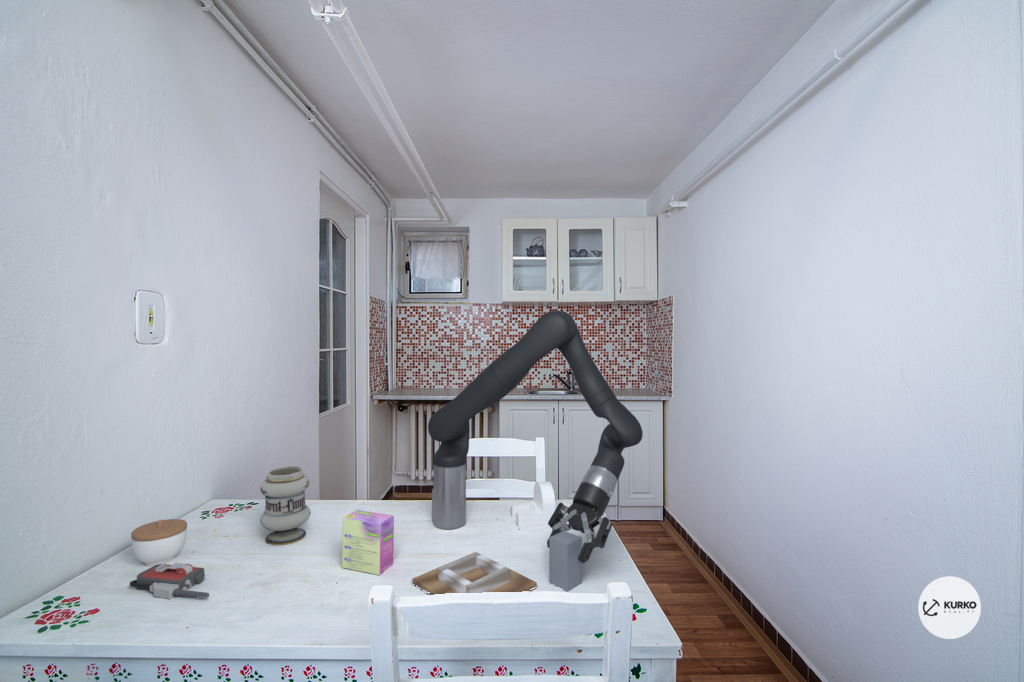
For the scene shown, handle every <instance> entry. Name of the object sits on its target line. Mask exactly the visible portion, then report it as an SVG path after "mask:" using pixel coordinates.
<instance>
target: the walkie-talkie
mask: <svg viewBox="0 0 1024 682" xmlns="http://www.w3.org/2000/svg"><path fill="white" fill-rule="evenodd" d="M205 577H206V575H205V568H204V567H197V566H193V564H190V563H182V562H181V563H180V562H175V563H172V564H166V563H163V564H160V565H159V564H157V565H153V566H150V568H147V569H146V570H143V571H142V572H139V573H138V574H137V575H136V579H133V580H131V581H130V582H129V587H132V588H136V590H137V591H147V592H152V595H153V597H154V598H159V599H160V598H161V599H166V600H171V599H173V598H174V597H187V598H189V597H191V598H196V597H201V598H208V597H209V596H210V593H209V592H205V591H195V590H190V589H192V587H194V586H196V585H197V584H201V583H202V582H204V580H205Z"/></svg>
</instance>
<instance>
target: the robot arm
mask: <svg viewBox="0 0 1024 682" xmlns="http://www.w3.org/2000/svg"><path fill="white" fill-rule="evenodd" d="M555 349H557V350H558V351H559V352H560V353H561V355H562V356H563V357H564V359H565V361H566V362H567V364H568V365H569V368H570V369H571V372H572V374H573V377H574V379H575V383H576V384H577V386H578V389H579V391H580V393H581V394H582V396H583V398H584V400H585V402H586V403H587V404H588V406H589V408H590V409H591V411H592V412H593V414H594V415H595V417H596V418H603V419H605V420H606V421H607V422H608V424H607V425H606V426H605V427H604V429H603V431H602V433H601V435H600V439H599V442H598V448H597V452H596V454H595V456H594V458H593V460H592V463H591V464H590V466H589V468H588V469H587V471H586V473H585V474H584V476H583V478H582V480H581V482H580V484H579V486H578V488H577V490H576V492H575V494H574V496H573V498H572V499H573V500H572V503H571V506H570V507H567V506H564V504H563V503H559V504H558V506H557V508H556V510H555V511H554V513H553V515H552V516H551V518H550V520H549V522H548V525H547V526H549V527H550V528H551V529H552V531H551V533H550V535H549V537H551V536H554V535H556V534H558V533H560V532H562V531H566V532H570V531H572V530H574V531H577V532H580V533H582V534H583V535H584V534H585V539H586V542H584V543H583V544H582V549H581V552H580V554H579V556H578V560H579V561H580V562H581V563H582V565H585V563H586V562H588V561H589V560H590V557H591V555H592V553H593V550H594V549H595V548H600V549H604V548H605V545H606V543H607V539H608V538H609V535H610V532H611V530H612V528H613V523H612V522H611V520H610V519H609V518H608V517H607V516H604V517H603V515H604V514H605V511H606V509H607V508H608V505H609V504H610V503H609V502H610V500H611V499H612V496H613V495H614V492H615V488H616V485H617V483H618V480H619V478H620V476H621V474H622V471H623V469H624V467H625V459H624V458H625V457H623V455H622V452H623V451H624V449H627V448H630V447H634V446H637V445H638V444H640V443H641V441H642V439H643V435H644V434H643V433H644V432H643V429H642V426H641V424H640V422H639V420H638V419H637V417H636V416H635V415H634V414H633V413H632V412H631V411H630V410H629V409H628V408H627V407H626V406H625V405H624V404H623V403H622V402H621V401H620V400H618V398H617V396H616V394H615V393H614V392H613V390H612V388H611V386H610V385H609V384H608V381H606V379H605V377H604V375H603V374H602V372H601V371H600V370H599V368H598V366H597V364H596V363H595V361H594V360H593V358H592V356H591V354H590V353H589V351H588V348H587V347H586V345H585V343H584V340H583V338H582V336H581V333H580V331H579V329H578V326H577V323H576V321H575V319H574V318H573V316H572V315H571V314H569V313H568V312H566V311H564V310H551V311H547V312H545V313H543V314H542V315H541V316H540V317H539V318H538V319H537V320H536V321H535V322H534V324H532V326H531V327H530V328H529V329H528V331H526V333H524V335H523V336H522V337H521V338H520V339H519V340H518V341H517V342H516V343H515V344H513V345H512V346H511V347H509V348H508V349H506V350H505V351H504V352H503V353H502V354H500V355H499V356H498V357H497V358H495V360H493V361H492V362H491V363H490V364H488V365H487V366H486V367H485V368H484V369H483V370H482V371H481V372H480V373H479V374H478V375H477V376H476V377H475V378H473V380H472V381H471V382H469V384H468V385H467V386H466V387H464V389H463V390H461V392H460V393H459V394H458V395H457V396H455V397H454V398H453V399H451V400H450V401H448V402H447V403H446V404H445V405H443V406H442V407H440V408H439V409H437V410H436V411H435V412H434V413H433V414H431V417H430V418H429V420H428V424H427V425H428V426H427V431H428V434H429V437H431V438H432V439H433V440H434V441H437V442H439V443H440V444H439V447H438V449H437V450H436V452H435V453H434V455H433V488H432V489H431V522H433V525H434V527H435V528H438V529H440V530H441V529H442V530H454V529H459V528H461V527H463V526H465V525H466V523H467V522H466V521H467V519H466V518H467V514H466V513H467V512H466V511H467V456H468V453H469V451H470V449H469V448H470V433H471V432H470V430H471V429H470V420H471V419H472V418H474V417H475V416H476V415H477V414H479V413H481V412H483V411H485V410H487V409H488V408H489V407H492V406H493V405H494V404H496V403H497V402H500V401H501V400H502V399H504V398H505V397H506V396H507V395H508V394H509V393H511V392H512V391H513V390H514V389H515V388H516V387H517V386H518V385H519V384H521V382H522V381H523V380H524V378H525V377H526V376H527V375H528V374H529V372H531V370H532V368H533V367H534V366H535V365H536V364H537V363H538V362H539V361H541V360H542V359H543V358H544V357H546V356H547V355H549V353H551V352H552V351H554V350H555ZM566 514H568V515H566ZM564 516H565V517H564ZM567 522H569V523H567ZM597 526H599V528H598V530H597V533H595V532H596V531H595V528H596V527H597ZM546 544H547V545H546V546H547V548H548V549H549V538H548V539H547V541H546Z"/></svg>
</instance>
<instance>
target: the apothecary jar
mask: <svg viewBox="0 0 1024 682" xmlns="http://www.w3.org/2000/svg"><path fill="white" fill-rule="evenodd" d="M309 486H310V479H309V478H308V476H306V475H305V474H304V472H303V467H301V466H296V465H295V466H294V465H293V466H292V465H291V466H282V467H277V468H274V469H271V470H269V471H268V472H267V475H266V479H265V480H264V481H263V482H262V483H261V485H260V492H261V494H262V495H263V496H265V497H264V498H265V499H264V500H265V506H264V507H265V510H264V512H263V513H262V515H261V516H260V519H259V520H260V524H261V526H262V527H263V528H264V529H265V530H268V531H272V532H271V533H269V534H268V535H266V537H265V539H264V542H265V544H271V546H284V545H290V544H294V543H297V542H299V541H301V540H302V539H304V538H305V537H306V535H307V531H305V530H304V529H303V528H299V527H301V526H302V525H304V524H305V523H306V522H307V521H308V520H309V518H310V516H311V509H310V507H309V506H308V505H307V504H306V496H305V495H306V493H305V491H306V490H307V489H308V488H309Z"/></svg>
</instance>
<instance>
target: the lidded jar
mask: <svg viewBox="0 0 1024 682" xmlns="http://www.w3.org/2000/svg"><path fill="white" fill-rule="evenodd" d="M187 528H188V522H187V521H186V520H185V519H181V518H168V519H159V520H156V521H152V522H148V523H145V524H143V525H141V526H138V527H136V528H134V529H133V531H131V532H130V536H131V537H130V539H131V547H132V549H131V550H132V552H133V555H134V556H135V558H136V560H138V561H139V562H141V563H142V564H143V565H145V566H147V567H148V566H149V567H153V566H155V565H157V564H159V565H160V564H164V563H165V564H166V563H169V562H171V561H173V560H174V559H175V558H176V556H177V555H178V554H179V553H180V552H181V550H182V549H183V547H184V546H185V542H186V539H187V533H188V532H187Z"/></svg>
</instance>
